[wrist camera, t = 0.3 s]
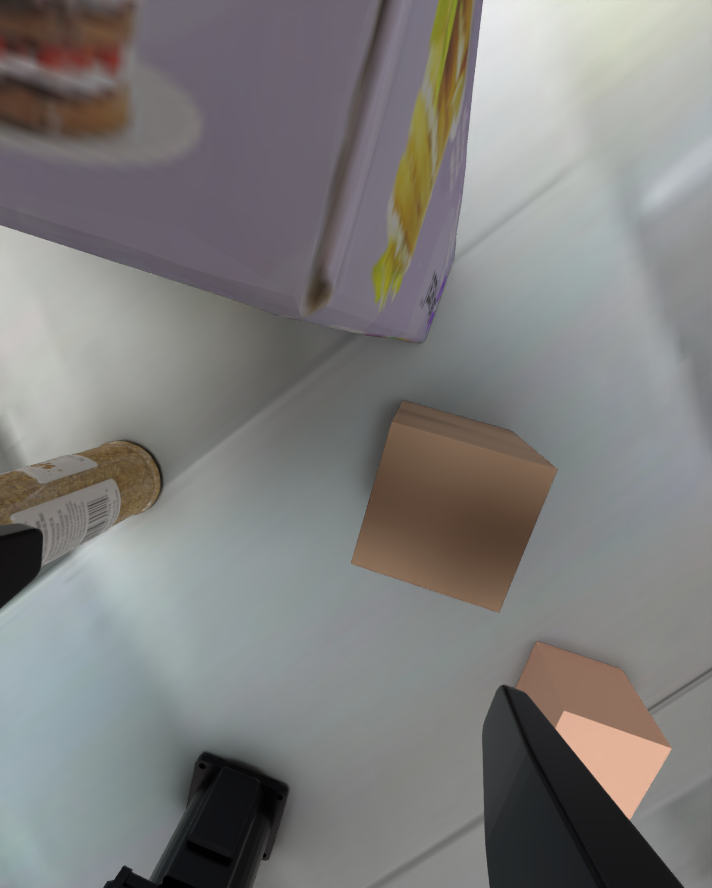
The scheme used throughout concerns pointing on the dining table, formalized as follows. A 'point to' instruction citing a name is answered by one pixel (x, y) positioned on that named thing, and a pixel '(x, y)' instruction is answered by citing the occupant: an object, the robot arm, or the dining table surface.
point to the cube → (598, 720)
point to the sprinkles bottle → (79, 494)
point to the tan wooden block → (452, 505)
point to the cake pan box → (247, 146)
